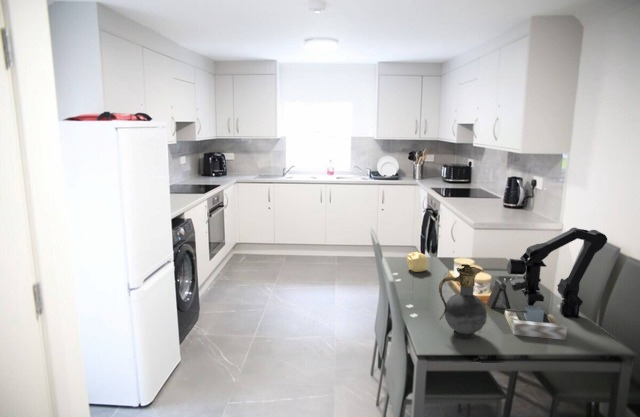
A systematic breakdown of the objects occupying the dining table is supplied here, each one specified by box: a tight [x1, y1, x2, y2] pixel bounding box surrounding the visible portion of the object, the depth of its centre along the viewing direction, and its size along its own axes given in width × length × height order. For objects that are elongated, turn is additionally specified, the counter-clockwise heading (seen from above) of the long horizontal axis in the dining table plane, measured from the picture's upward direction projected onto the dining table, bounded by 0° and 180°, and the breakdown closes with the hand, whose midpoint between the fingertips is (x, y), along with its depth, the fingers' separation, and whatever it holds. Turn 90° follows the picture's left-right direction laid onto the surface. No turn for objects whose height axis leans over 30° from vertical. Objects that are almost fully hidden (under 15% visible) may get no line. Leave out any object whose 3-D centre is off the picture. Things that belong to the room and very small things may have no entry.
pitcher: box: [438, 263, 487, 339], centre depth 170 cm, size 11×19×30 cm, turn 93°
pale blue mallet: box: [505, 304, 545, 323], centre depth 186 cm, size 14×6×5 cm, turn 77°
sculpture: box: [406, 251, 429, 273], centre depth 247 cm, size 11×12×11 cm
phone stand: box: [486, 278, 512, 310], centre depth 198 cm, size 9×6×12 cm, turn 85°
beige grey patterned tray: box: [504, 309, 568, 341], centre depth 179 cm, size 19×19×5 cm
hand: (529, 308), depth 193 cm, fingers closed
